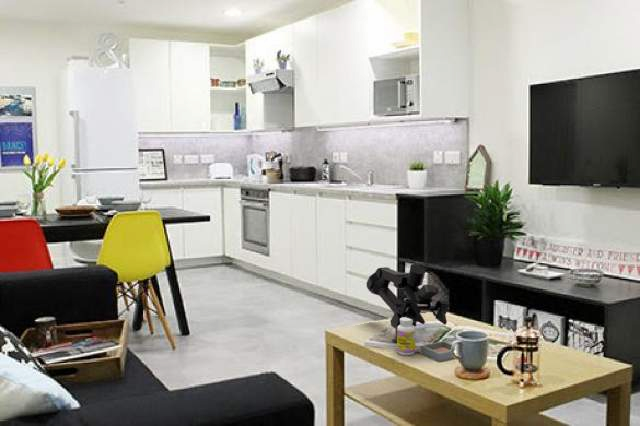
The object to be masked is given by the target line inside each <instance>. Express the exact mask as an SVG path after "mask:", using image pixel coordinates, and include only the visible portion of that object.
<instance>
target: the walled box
mask: <svg viewBox="0 0 640 426" xmlns="http://www.w3.org/2000/svg"><path fill="white" fill-rule="evenodd" d="M452 344H453V343H452V342H451V343H450V342H449V341H445V340H441V341H437V342H436V341H435V342H432V343H427V344H422V345H420V348H419V349H420V350H419V353H420V354H421V355H422V356H425V357H427V358H429V359H431V360H433V361H435V362H438V363H443V362H447V361H452V360H456V359H455V358H454V357H453V356H452V354H451V351H450V350H451V346H452Z"/></svg>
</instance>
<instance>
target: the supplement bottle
mask: <svg viewBox="0 0 640 426" xmlns="http://www.w3.org/2000/svg"><path fill="white" fill-rule="evenodd" d="M412 323H413V320H412V319H409V318H406V317H403V318H400V325H399V326H398V327H397V343H396V352H397V353H398V354H399V355H402V356H411V355H414V354H415V353H416V326H414V325H412Z"/></svg>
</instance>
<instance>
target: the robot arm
mask: <svg viewBox="0 0 640 426" xmlns="http://www.w3.org/2000/svg"><path fill="white" fill-rule="evenodd" d="M426 272H427V271H426V268H425V267H423V266H421V265H417V263H411V264H410V268H409V271H408V272H400V271H397V270H394V269H391V268H390V267H387V266H386V267H385V266H384V267H378V268H377V269H376V270H375V272H373V273H372V274H371V275H370V276H369V277H368V279H367V281H366V288H367V290H368V291H369V292H370V293H371V294H373V295H376V296H379V297H380V298H381V299H382V300H383V302H384V303H385V304H386V305H387V306H388V307H389V309H390V310H391V311H392V313H393V316H392V317H391V319H390V326H391V327H392V328H394V329H395V332H394V333H395V338H392V342H394V343H396V344H397V327H398V326H399V325H400V318H403V317H406V318H409V319H412V320H413V323H412V325H414V326H415V327H417V323H420V324H422V325H425V324H426V321H425V319H424V317H423V316H422V314H426V313H432V315H433V316H434V317H435V319H436V320H437V321H439V322H440V323H442V324H443V325H444V326H446V325H447V317H446V314H447V312H448V310H449V307H450V306H451V305H450V303H449V302H448V301H447V300H437V301H436V303H435V305H431V304H432V302H433V297H434V296H437V295H438V294H439V292H440V288H438V286H437V285H434V284H424V285H423V282H424V279H425V275H426ZM391 283H393V286H394V287H395V288H396V289H398V290H401V289H402V290H403V295H402V299H403V301H401V300H400V299H399V297H398V296H397V295H395V293H394V292H393V291H392V290H391V289H390V288H389V285H390V284H391Z"/></svg>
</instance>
